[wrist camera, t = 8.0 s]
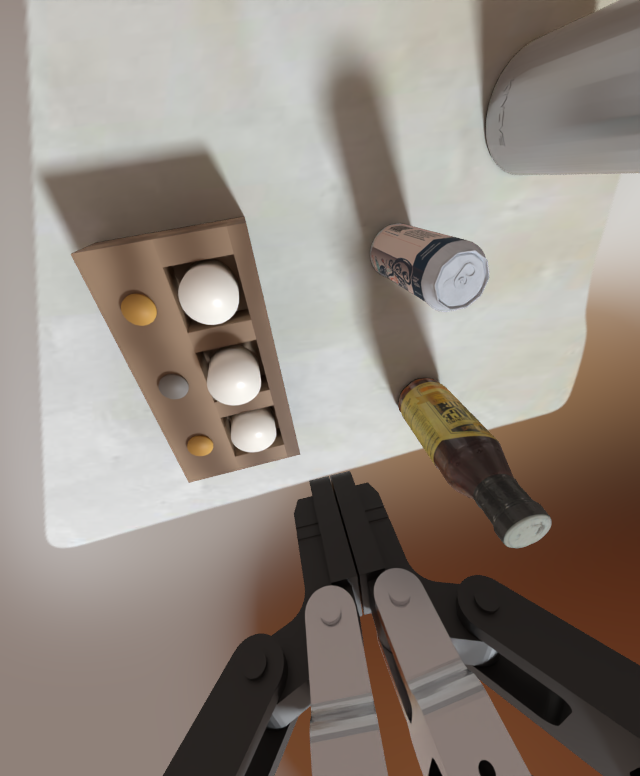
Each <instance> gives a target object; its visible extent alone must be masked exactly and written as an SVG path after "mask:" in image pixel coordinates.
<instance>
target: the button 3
mask: <svg viewBox="0 0 640 776" xmlns="http://www.w3.org/2000/svg"><path fill="white" fill-rule="evenodd" d="M275 438H276V428H275V422H274V415H273V411H272V409H271V408H270V407H269V406H268V407H264V408H259V409H255V410H251V411H247V412H243V413H238V414H234V415H232V416H231V440H232V442H233V444H234V445H235V446H236V447H237V448H238V449H240V450H242V451H245V452H259V451H262V450H265V449H266V448H268V447H269V446H270V445H272V443H273V442H274V440H275Z"/></svg>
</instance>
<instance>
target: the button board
mask: <svg viewBox="0 0 640 776" xmlns="http://www.w3.org/2000/svg"><path fill="white" fill-rule="evenodd" d="M71 256H72V258H73V260H74V261H75V263H76V265H77V267H78V269H79V271H80V273H81V275H82V277H83V279H84V281H85V283H86V285H87V287H88V289H89V290H90V292H91V294H92V296H93V298H94V300H95V302H96V304H97V306H98V308H99V310H100V312H101V314H102V316H103V318H104V319H105V321H106V323H107V325H108V327H109V329H110V331H111V333H112V335H113V337H114V339H115V341H116V343H117V345H118V347H119V348H120V350H121V352H122V354H123V356H124V358H125V360H126V362H127V364H128V366H129V368H130V370H131V372H132V374H133V376H134V377H135V379H136V381H137V383H138V385H139V387H140V389H141V391H142V393H143V395H144V397H145V399H146V401H147V403H148V405H149V406H150V408H151V410H152V412H153V414H154V416H155V418H156V420H157V422H158V424H159V426H160V428H161V430H162V432H163V434H164V435H165V437H166V439H167V441H168V443H169V445H170V447H171V449H172V451H173V453H174V455H175V457H176V459H177V461H178V463H179V465H180V466H181V468H182V470H183V472H184V474H185V476H186V478H187V480H188V482H189V483H190V482H193V481H197V480H201V479H205V478H209V477H213V476H217V475H221V474H225V473H229V472H233V471H237V470H241V469H245V468H248V467H252V466H256V465H260V464H264V463H268V462H272V461H276V460H280V459H284V458H288V457H292V456H296V455H300V451H299V447H298V443H297V439H296V434H295V430H294V426H293V422H292V417H291V413H290V409H289V404H288V400H287V396H286V392H285V387H284V383H283V379H282V375H281V370H280V366H279V362H278V357H277V353H276V349H275V345H274V340H273V336H272V332H271V328H270V323H269V319H268V315H267V310H266V306H265V302H264V298H263V293H262V289H261V285H260V280H259V276H258V272H257V268H256V263H255V259H254V255H253V251H252V246H251V242H250V238H249V233H248V229H247V225H246V221H245V217H239V218H233V219H228V220H222V221H216V222H211V223H205V224H199V225H194V226H188V227H182V228H177V229H171V230H165V231H160V232H154V233H148V234H143V235H137V236H131V237H126V238H120V239H114V240H108V241H103V242H97V243H94V244H92V245H90V246H88V247H85V248H83V249H81V250H79V251H76V252H74V253H72V254H71ZM206 259H211V260H216V261H219V262H221V263H223V264H225V265H226V266H228V267H229V268H230V269H231V270H232V272H233V273H234V274H235V276H236V278H237V281H238V286H239V304H238V308H237V310H236V312H235V314H234V315H233V316H232V317H231V318H230V319H229V320H227V321H225V322H223V323H221V324H216V325H207V324H202V323H200V322H197V321H195V320H194V319H192V318H191V317H190V316H188V315H187V314H186V312H185V311H184V310H183V308H182V306H181V304H180V301H179V296H178V290H179V285H180V283H181V281H182V279H183V277H184V275H185V273H186V271H187V270H188V268H189V267H190V266H191V265H193V264H194V263H196V262H198V261H200V260H206ZM229 345H239V346H243V347H245V348H247V349H249V350H250V351H252V352H253V353H254V354H255V356H256V357H257V360H258V363H259V370H260V377H261V387H260V390H259V392H258V394H257V395H256V397H255V398H254V399H252V400H251V401H249V402H247V403H245V404H242V405H226V404H223V403H221V402H219V401H217V400H216V399H215V398H213V396H212V395H211V394H210V392H209V390H208V387H207V377H208V370H209V363H210V359H211V357H212V356H213V354H214V353H215V352H216V351H217V350H218V349H220V348H222V347H225V346H229ZM268 406H269V407H270V408H271V409H272V411H273V415H274V422H275V428H276V438H275V440H274V442H273V443H272V445H270V446H269V447H268V448H266V449H265V450H262V451H259V452H245V451H242V450H240V449H238V448H237V447H236V446H235V445H234V444H233V442H232V440H231V416H232V415H234V414H238V413H243V412H247V411H251V410H255V409H259V408H264V407H268Z"/></svg>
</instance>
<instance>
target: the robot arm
mask: <svg viewBox="0 0 640 776" xmlns="http://www.w3.org/2000/svg"><path fill="white" fill-rule="evenodd" d="M486 138H487V145H488V148H489V151H490V154H491V157H492V158H493V160H494V161H495V163H496V164H497V165H498V166H499V167H500V168H501V169H502V170H503V171H505V172H508V173H510V174H513V175H567V174H615V173H640V0H619V1H617V2H615V3H612V4H610V5H608V6H606V7H604V8H602V9H600V10H598V11H595V12H593V13H591V14H589V15H587V16H585V17H583V18H580V19H578V20H576V21H574V22H572V23H569V24H567V25H565V26H563V27H561V28H559V29H557V30H555V31H553V32H550V33H548V34H546V35H544V36H542V37H540V38H538V39H536V40H534V41H532V42H530V43H529V44H528V45H526V46H525V47H523V48H522V49H521V50H520V51H519V52H518V53H517V54H516V55H515V56H514V57H513V58H512V59H511V60H510V62H509V63H508V65H507V66H506V67H505V69H504V70H503V72H502V73H501V75H500V77H499V79H498V81H497V83H496V85H495V88H494V90H493V93H492V96H491V99H490V102H489V106H488V112H487V117H486ZM330 479H331V482H330ZM330 479H329V476H328V477H323V478H319V479H315V480H311V481H309V482H310V486H311V491H312V496H311V497H307V498H303V499H299V500H298V501H297V505H296V509H295V512H294V517H295V524H296V530H297V538H298V544H299V551H300V558H301V564H302V571H303V578H304V585H305V598H304V602H303V605H302V608H301V610H300V612H299V613H298V614H297V616H296V617H295V618H294V619H293V620H292V621H291V622H290V623H289V624H287V625H286V626H284V627H283V628H282V629H280V630H279V631H277V632H276V633H275V634H273V635H272V636H270V635H267V634H255V635H253V636H250V637H248V638H247V639H245V640H244V641H243V642H242V643H241V644H240V645H239V646H238V647H237V649H236V651H235V652H234V653H233V655H232V657H231V659H230V661H229V662H228V664H227V665H226V667H225V669H224V671H223V672H222V674H221V676H220V678H219V679H218V681H217V683H216V684H215V686H214V688H213V690H212V691H211V693H210V695H209V697H208V698H207V700H206V702H205V703H204V705H203V707H202V709H201V711H200V712H199V714H198V716H197V718H196V719H195V721H194V723H193V724H192V726H191V728H190V730H189V731H188V733H187V735H186V736H185V738H184V740H183V742H182V743H181V745H180V747H179V748H178V750H177V752H176V754H175V756H174V757H173V759H172V761H171V762H170V764H169V766H168V768H167V769H166V771H165V773H164V774H163V776H274V775H275V773H276V770H277V768H278V765H279V763H280V760H281V758H282V756H283V753H284V750H285V748H286V746H287V743H288V741H289V738H290V736H291V733H292V730H293V728H294V726H295V723H296V721H297V718H298V716H299V715H300V714H301V713H302V712H303V711H305V710H306V709H307V708H308V707H309V706H311V720H310V746H311V762H312V776H388V774H387V768H386V763H385V758H384V752H383V747H382V742H381V736H380V731H379V726H378V721H377V715H376V711H375V706H374V701H373V696H372V691H371V686H370V680H369V676H368V670H367V665H366V659H365V654H364V647H363V646H364V645H363V637H362V630H361V622H360V616H362V609H361V604H362V608H363V611H364V615H365V614H369V613H372V616H373V619H374V623H375V626H376V630H377V637H378V642H379V645H380V648H381V651H382V653H383V656H384V659H385V662H386V665H387V668H388V670H389V673H390V676H391V679H392V681H393V684H394V687H395V690H396V693H397V695H398V698H399V701H400V704H401V707H402V709H403V712H404V715H405V718H406V721H407V724H408V727H409V731H410V735H411V739H412V742H413V746H414V749H415V752H416V755H417V758H418V761H419V764H420V767H421V770H422V772H423V775H424V776H532V775H531V774H530V773H529V771H528V769H527V767H526V765H525V763H524V761H523V759H522V758H521V756H520V754H519V752H518V750H517V748H516V746H515V745H514V743H513V741H512V739H511V737H510V735H509V733H508V732H507V729H506V728H505V726H504V724H503V722H502V720H501V718H500V716H499V715H498V713H497V711H496V709H495V707H494V705H493V703H492V701H491V700H490V698H489V696H488V694H487V692H486V690H485V689H484V687H483V685H482V684H481V683H480V681H479V680H481V681H482V682H483V683H485V684H486V685H487V686H488V687H490V688H491V689H492V690H494V691H495V692H496V693H497V694H499V695H500V696H501V697H503V698H504V699H505V700H506V701H508V702H509V703H510V704H512V705H513V706H514V707H515V708H517V709H518V710H519V711H521V712H522V713H523V714H524V715H526V716H527V717H528V718H530V719H531V720H532V721H533V722H535V723H536V724H537V725H539V726H540V727H542V728H543V729H544V730H545V731H546V732H548V733H549V734H550V735H551V736H553V737H554V738H555V739H557V740H558V741H559V742H561V743H562V744H563V745H564V746H566V747H567V748H568V749H569V750H571V751H572V752H573V753H575V754H576V755H577V756H578V757H580V758H581V759H582V760H584V761H585V762H586V763H587V764H589V765H590V766H591V767H593V768H594V769H595V770H597V771H598V772H599V773H600V774H602V775H603V776H640V666H639V665H638V664H636V663H635V662H633V661H631V660H630V659H628V658H626V657H624V656H623V655H621V654H619V653H618V652H616V651H614V650H613V649H611V648H609V647H607V646H605V645H604V644H602V643H601V642H599V641H597V640H596V639H594V638H592V637H590V636H589V635H587V634H585V633H584V632H582V631H580V630H579V629H577V628H575V627H574V626H572V625H570V624H568V623H567V622H565V621H563V620H562V619H560V618H558V617H557V616H555V615H553V614H551V613H550V612H548V611H546V610H545V609H543V608H541V607H540V606H538V605H536V604H535V603H533V602H531V601H529V600H527V599H526V598H524V597H523V596H521V595H519V594H517V593H516V592H514V591H512V590H510V589H509V588H507V587H506V586H504V585H502V584H500V583H499V582H497V581H495V580H493V579H492V578H489V577H486V576H482V575H474V576H470V577H467V578H466V579H464V581H462V583H461V584H453V583H442V582H435V581H431V580H428V579H426V578H423V577H422V576H420V575H419V574H418V573H416V572H415V571H414V570H413V569H412V568H411V566H410V565H409V563H408V561H407V559H406V557H405V554H404V552H403V550H402V547H401V545H400V543H399V540H398V538H397V536H396V534H395V531H394V529H393V527H392V524H391V522H390V520H389V518H388V515H387V512H386V510H385V508H384V505H383V503H382V500H381V498H380V496H379V493H378V492H377V491H376V490H375V489H374V488H373V487H372V486H371V485H370V484H369V483H364V484H360V485H356V486H355V483H354V481H353V478H352V475H351V473H350V471H348V472H344V473H339V474H335V475H331V476H330Z"/></svg>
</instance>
